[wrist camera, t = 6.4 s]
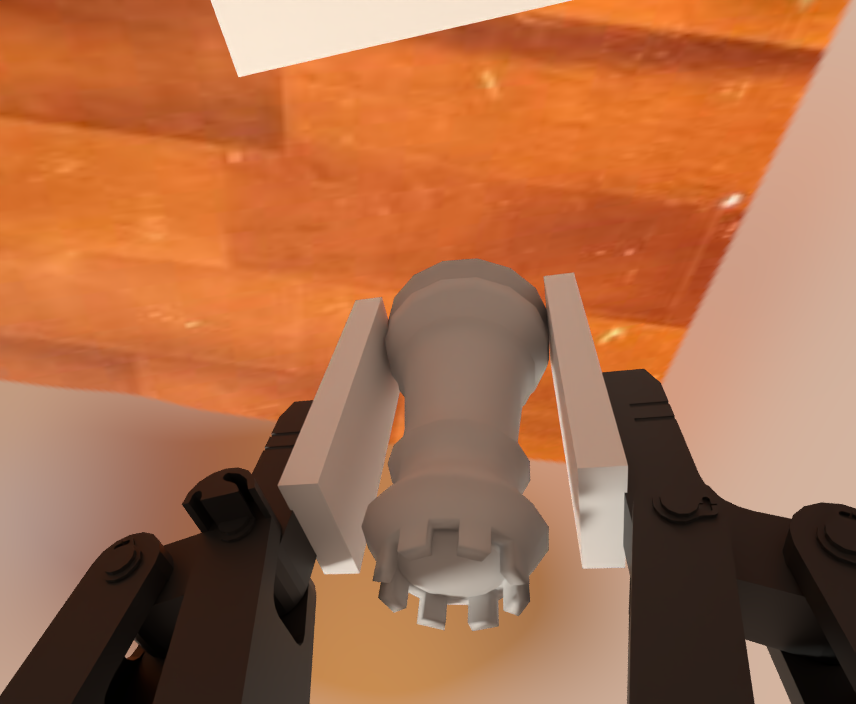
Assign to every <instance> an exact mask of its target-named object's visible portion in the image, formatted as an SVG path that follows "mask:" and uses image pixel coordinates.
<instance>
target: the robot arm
mask: <svg viewBox="0 0 856 704" xmlns="http://www.w3.org/2000/svg"><path fill="white" fill-rule="evenodd" d="M544 286H545V299H546V310H547V319H548V332H549V349H550V361H551V368H552V374H553V381H554V387H555V394H556V400H557V407H558V413H559V420H560V426H561V432H562V439H563V445H564V452H565V458H566V465H567V471H568V478H569V484H570V491H571V497H572V503H573V509H574V517H575V523H576V530H577V536H578V542H579V549H580V555H581V562H582V568H625V556H626V560H627V564H628V568H629V573H630V595H629V643H628V644H629V645H628V688H627V689H628V690H627V704H754V697H753V690H752V683H751V676H750V670H749V662H748V656H747V649H746V642H745V639H746V640H749V641H752V642H756V643H759V644H762V645H765V646H767V648H768V651H769V653H770V655H771V658H772V660H773V662H774V665H775V667H776V669H777V672H778V674H779V676H780V679H781V681H782V683H783V685H784V688H785V690H786V692H787V695H788V697H789V699H790V702H791V704H856V509H855V508H852V507H849V506H846V505H843V504H833V503H817V504H813V505H808V506H804V507H803V508H802V509H800V510H799V511H798V512H796V513H795V514H794V515H793V517H792V519H789V518H784V517H780V516H775V515H770V514H765V513H760V512H756V511H752V510H748V509H745V508H741V507H738V506H736V505H734V504H732V503H730V502H728V501H725V500H724V499H722V498H721V497H719V496H718V495H717V494H716V493H715V492H714V491H713V490H712V489H711V488H710V487H709V486H708V485H706V484H705V483H704V482H703V480H702V478H701V477H700V475H699V473H698V471H697V468H696V466H695V463H694V461H693V459H692V457H691V454H690V451H689V449H688V447H687V445H686V442H685V440H684V437H683V435H682V433H681V430H680V428H679V425H678V423H677V421H676V419H675V418H674V414H673V411H672V409H671V406H670V404H668V399H667V397H666V394H665V392H664V390H663V387H662V385H661V383H660V382H659V381H658V380H657V379H655V378H654V377H653V376H652V375H651V374H650V373H648V372H647V371H646V370H645V369H636V370H625V371H614V372H603V373H602V371H601V368H600V364H599V360H598V357H597V353H596V350H595V346H594V343H593V339H592V336H591V332H590V328H589V325H588V321H587V318H586V314H585V311H584V307H583V304H582V300H581V296H580V293H579V289H578V286H577V282H576V279H575V275H574V273H567V274H559V275H551V276H544ZM387 332H388V318H387V314H386V310H385V307H384V303H383V300H382V297H379V298H371V299H363V300H356V301H355V303H354V306H353V308H352V310H351V313H350V315H349V318H348V320H347V322H346V325H345V327H344V329H343V332H342V334H341V337H340V339H339V341H338V344H337V346H336V348H335V351H334V353H333V355H332V358H331V360H330V363H329V365H328V367H327V370H326V372H325V374H324V377H323V379H322V382H321V384H320V386H319V389H318V391H317V393H316V396H315V398H314V400H310V401H299V402H294V403H293V404H292V405H291V406H290V407H289V408H288V409H287V410H286V411H285V412H284V413H283V414H282V415H281V416H280V417H279V419H278V421H277V423H276V426H275V428H274V429H273V432H272V437H270V438H269V440H268V442H267V444H266V446H265V451H263V453H262V454H261V456H260V458H259V460H258V463H257V465H256V467H255V469H254V471H253V473H252V474H251V473H250V472H249V471H248V470H245V469H242V468H228V469H224V470H221V471H218V472H216V473H213V474H211V475H209V476H208V477H206V478H205V479H203V480H202V481H200V482H199V483H198V484H197V485H196V486H195V487H194V488H193V489H192V490H191V491H190V492H189V493H188V494H187V496H186V498H185V500H184V502H183V503H182V505H183V507H184V508H185V509H186V511H187V512H188V514H189V515H190V517H191V518H192V519H193V521H194V522H195V524H196V525H197V527H198V528H199V529H200V530H201V532H202V533H200V534H197V535H195V536H191V537H189V538H186V539H182V540H179V541H176V542H174V543H171V544H167V545H164V546H163V545H162V544H161V542H160V541H159V540H158V539H157V538H156V537H155V536H154V534H150V533H145V532H142V533H137V534H132V535H129V536H127V537H125V538H123V539H121V540H119V541H117V542H115V543H114V544H113V545H111V546H110V547H109V548H107V549H106V550H105V551H103V553H102V554H101V555H100V556H99V557H98V558H97V559H96V560H95V562H94V563H93V564H92V565H91V567H90V568H89V570H88V571H87V572H86V574H85V575H84V577H83V578H82V579H81V581H80V583H79V584H78V585H77V587H76V588H75V589H74V591H73V592H72V594H71V595H70V597H69V598H68V600H67V601H66V602H65V604H64V605H63V607H62V608H61V609H60V611H59V612H58V614H57V615H56V617H55V618H54V619H53V621H52V622H51V624H50V625H49V627H48V628H47V629H46V631H45V632H44V634H43V635H42V637H41V638H40V639H39V641H38V642H37V644H36V645H35V647H34V648H33V649H32V651H31V652H30V654H29V655H28V657H27V658H26V660H25V661H24V662H23V664H22V665H21V667H20V668H19V670H18V671H17V672H16V674H15V675H14V677H13V678H12V679H11V681H10V682H9V684H8V685H7V687H6V688H5V690H4V691H3V692H2V694H1V696H0V704H309V702H310V686H311V671H312V655H313V639H314V624H315V608H316V590H315V585H314V583H313V581H312V580H311V578H310V577H311V573H312V570H313V567H314V563H315V560H316V559H317V561H318V563H319V565H320V566H321V568H322V570H323V572H324V574H350V573H360V569H361V564H362V560H363V555H364V551H365V546H366V540H365V536H364V533H363V530H362V527H361V526H362V523H363V520H364V516H365V513H366V510H367V507H368V505H369V504H370V503H371V502H372V501H373V500H375V499H376V496H377V492H378V487H379V483H380V479H381V474H382V469H383V465H384V460H385V455H386V451H387V447H388V442H389V438H390V433H391V429H392V424H393V420H394V415H395V411H396V406H397V402H398V397H399V393H400V390H399V386H398V383H397V381H396V380H395V379H394V377H393V376H392V374H391V369H390V364H389V360H388V355H387V350H386V345H385V339H386V336H387ZM133 640H135V641H136V642H137V643H138V644H139V645H138V647H137V649H136V650H135V651H134V652H133V654H132V655H131V656H130V657H128V658H125V655H126V653H127V651H128V649H129V648H130V646H131V644H132V642H133Z"/></svg>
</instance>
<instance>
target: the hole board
mask: <svg viewBox="0 0 856 704" xmlns="http://www.w3.org/2000/svg"><path fill="white" fill-rule="evenodd" d="M566 1H571V0H211V2H212V5H213V8H214V10H215V13H216V16H217V19H218V21H219V24H220V27H221V30H222V33H223V35H224V38H225V41H226V44H227V46H228V49H229V52H230V55H231V57H232V60H233V63H234V66H235V68H236V71H237V74H238V77H241V76H245V75H250V74H254V73H258V72H263V71H267V70H272V69H276V68H280V67H285V66H289V65H293V64H298V63H302V62H306V61H311V60H315V59H319V58H324V57H328V56H332V55H337V54H341V53H345V52H350V51H354V50H358V49H363V48H367V47H371V46H376V45H380V44H384V43H389V42H393V41H397V40H402V39H406V38H410V37H415V36H419V35H423V34H428V33H432V32H436V31H441V30H445V29H449V28H454V27H458V26H462V25H467V24H471V23H475V22H480V21H484V20H488V19H493V18H497V17H501V16H506V15H510V14H514V13H519V12H523V11H527V10H532V9H536V8H540V7H545V6H549V5H553V4H558V3H562V2H566Z"/></svg>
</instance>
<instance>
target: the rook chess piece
mask: <svg viewBox="0 0 856 704" xmlns="http://www.w3.org/2000/svg"><path fill="white" fill-rule="evenodd" d="M385 345H386V350H387V355H388V360H389V364H390V369H391V374H392V376H393V377H394V379H395V380H396V381H397V383H398V386H399V390H400V392H401V393H402V394H403V396H404V397H405V430H404V436H403V437H402V438H401V439H400V440H399V441H398V442H397V443H396V444H395V445H394V446H393V449H392V452H391V455H390V458H389V461H388V467H389V471H390V475H391V479H392V482H393V485H392V486H390V487H389V488H388V489H386V490H385V491H384V492H383V493H382V494H380V495H379V496H378V497H377V498H376V499H375V500H373V501H372V502H371V503H370V504H369V505H368V507H367V510H366V513H365V516H364V520H363V523H362V526H361V527H362V530H363V533H364V536H365V540H366V543H367V546H368V548H369V550H370V552H371V553H372V555H373V557H374V558H375V560H376V566H375V571H374V576H373V581H377V582H381V585H380V591H379V597H378V598H379V599H380V600H381V601H382V602H383V603H384V604H385V605H387V606H388V607H389V608H390V609H391V610H392V611H393V612H396V611H399V610H402V609H405V608H406V606H407V599H408V592H409V593H411V594H412V595H414V596H416V597H418V598H420V601H419V610H418V619H417V624H420V625H425V626H429V627H433V628H437V629H442V630H444V628H445V622H446V608H447V604H448V605H449V604H450V605H451V604H452V605H468V623H469V625H470V627H471V629H472V631H475V630H480V629H486V628H492V627H497V626H499V623H498V621H499V620H498V600H499V599H501V598H503V604H504V605H503V606H504V611H507V612H509V613H512V614H515V615H517V616H519V615H520V614H521V613H522V611H523V610H524V609H525V607H526V606H527V605H528V603H529V602H530V593H529V575H530V574H531V573H532V572H533V571H534V570H535V568H536V567H537V565H538V564H539V562H540V561H541V560H542V558H543V557H544V556H545V554H546V553H547V551H548V550H549V547H548V546H549V534H548V533H549V527H548V525H547V524H546V522H545V521H544V519H543V518H542V517H541V515H540V514H539V512H538V511H537V509H536V508H535V506H534V505H533V504H532V503H531V502H530V501H529V500H528V499H527V498H526V497H525V496H523V495H522V494H523V492H524V490H525V489H526V487H527V485H528V483H529V482H530V461H529V460H528V458H527V456H526V455H525V453H524V452H523V450H522V449H521V447H520V446H519V444H518V434H519V427H520V419H521V411H522V406H524V405H525V404H526V402H527V400H528V398H529V396H530V394H531V393H533V392H534V391H535V389H536V387H537V385H538V383H539V381H540V379H541V377H542V375H543V373H544V371H545V370H546V367H547V364H548V361H549V332H548V319H547V310H546V308H545V306H544V304H543V302H542V300H541V298H540V296H539V294H538V292H537V290H536V288H535V287H534V286H532V285H531V284H530V283H528V282H527V281H526V280H525V279H523V278H522V277H521V276H520V275H518V274H517V273H516V272H515V271H513V270H512V269H511V268H508V267H505V266H501V265H498V264H494V263H491V262H487V261H484V260H481V259H465V260H452V261H442V262H440V263H438V264H436V265H434V266H432V267H430V268H428V269H426V270H424V271H422V272H420V273H417V274H415V275H414V276H413V277H412V278H411V279H410V280H409V281H408V282H407V284H406V285H405V286H404V287H403V288H402V289H401V291H400V292H399V293H398V294H397V295H396V296H395V298H394V301H393V305H392V309H391V313H390V316H389V320H388V332H387V336H386V339H385Z"/></svg>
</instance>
